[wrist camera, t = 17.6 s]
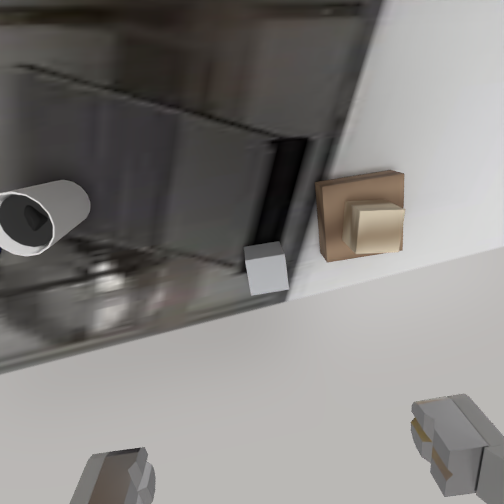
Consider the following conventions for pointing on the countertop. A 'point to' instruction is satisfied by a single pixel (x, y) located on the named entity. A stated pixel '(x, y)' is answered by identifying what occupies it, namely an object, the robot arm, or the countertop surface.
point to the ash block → (372, 226)
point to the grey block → (266, 268)
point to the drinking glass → (40, 215)
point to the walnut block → (352, 189)
